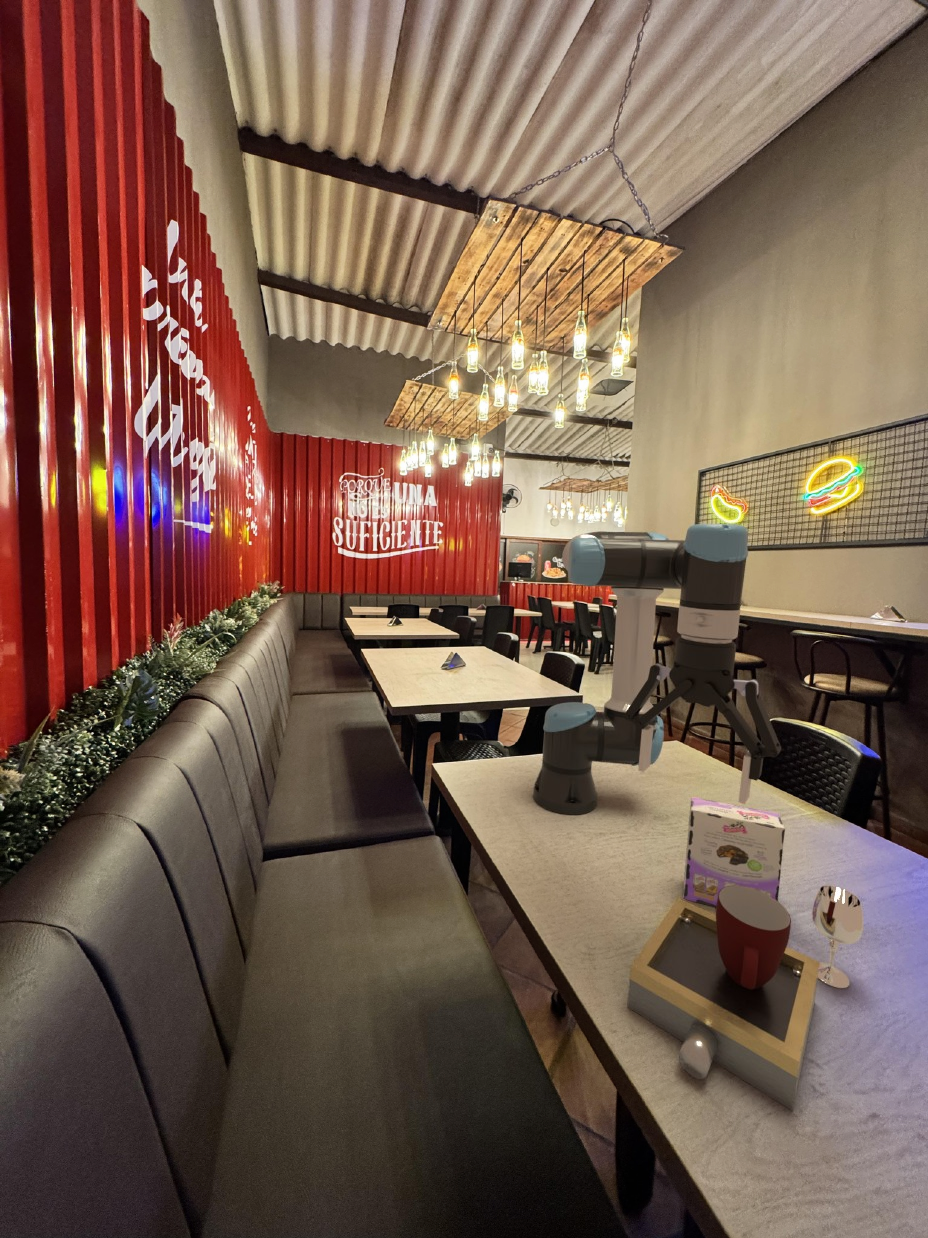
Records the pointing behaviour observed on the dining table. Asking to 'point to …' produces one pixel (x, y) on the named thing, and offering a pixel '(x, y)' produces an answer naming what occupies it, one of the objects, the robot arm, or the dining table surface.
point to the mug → (751, 934)
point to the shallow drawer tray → (724, 1005)
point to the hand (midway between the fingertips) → (690, 783)
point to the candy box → (731, 850)
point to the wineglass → (836, 927)
